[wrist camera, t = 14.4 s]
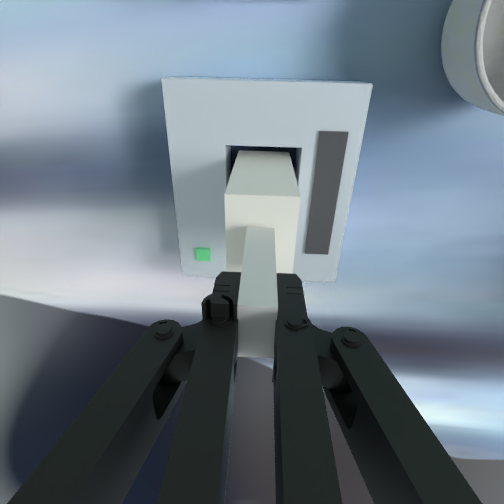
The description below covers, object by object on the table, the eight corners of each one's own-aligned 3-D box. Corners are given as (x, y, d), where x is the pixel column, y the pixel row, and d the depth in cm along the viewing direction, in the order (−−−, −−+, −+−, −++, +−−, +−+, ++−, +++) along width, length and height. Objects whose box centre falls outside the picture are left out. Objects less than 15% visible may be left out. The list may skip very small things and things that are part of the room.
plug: (287, 146, 27) (300, 196, 17) (282, 211, 30) (290, 288, 20) (240, 145, 27) (224, 194, 17) (240, 210, 30) (226, 286, 20)
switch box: (357, 81, 24) (374, 84, 21) (327, 259, 32) (335, 284, 29) (175, 76, 25) (159, 78, 21) (191, 253, 33) (181, 277, 29)
